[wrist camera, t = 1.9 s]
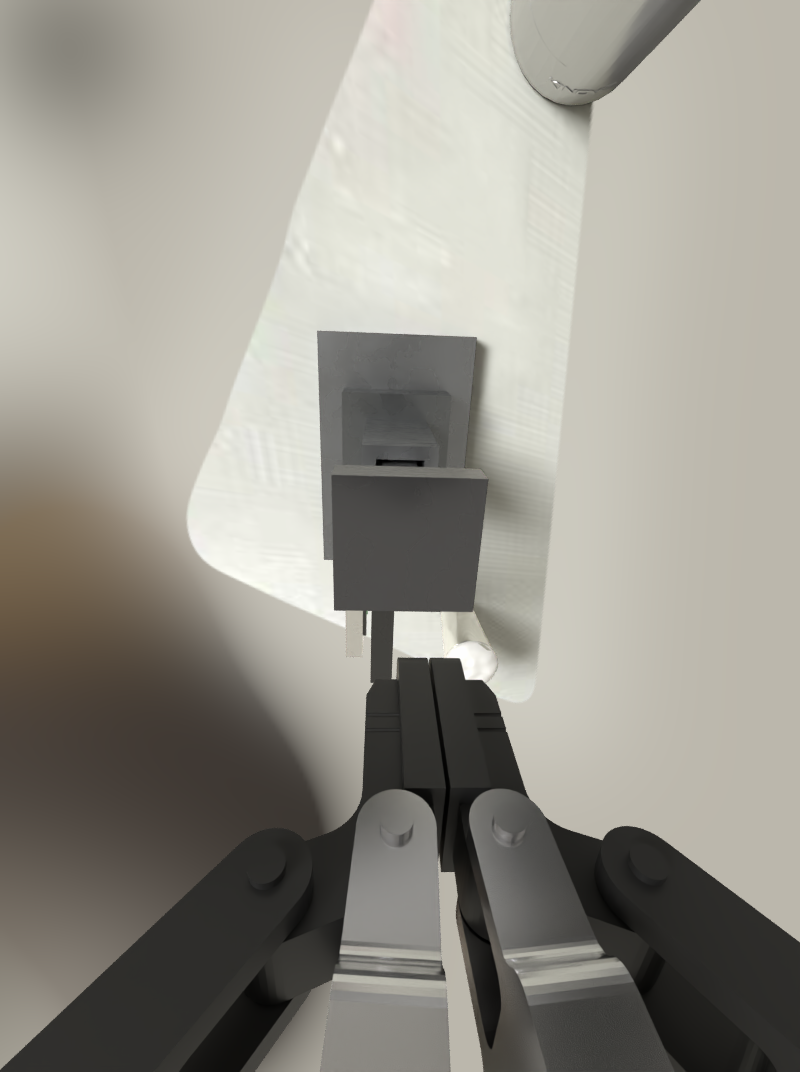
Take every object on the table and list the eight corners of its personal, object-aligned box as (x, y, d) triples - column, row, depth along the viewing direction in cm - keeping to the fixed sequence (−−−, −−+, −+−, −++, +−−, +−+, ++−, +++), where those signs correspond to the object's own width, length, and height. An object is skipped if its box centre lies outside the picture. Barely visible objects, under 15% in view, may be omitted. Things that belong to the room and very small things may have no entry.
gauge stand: (319, 330, 36) (277, 328, 22) (473, 337, 37) (534, 339, 22) (325, 552, 44) (297, 662, 29) (453, 554, 44) (488, 664, 30)
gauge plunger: (350, 422, 28) (331, 474, 18) (448, 425, 28) (488, 479, 18) (350, 575, 32) (336, 692, 22) (437, 577, 33) (463, 693, 22)
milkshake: (489, 591, 46) (515, 656, 37) (470, 635, 48) (490, 706, 39) (445, 580, 45) (461, 643, 36) (428, 625, 47) (439, 695, 38)
